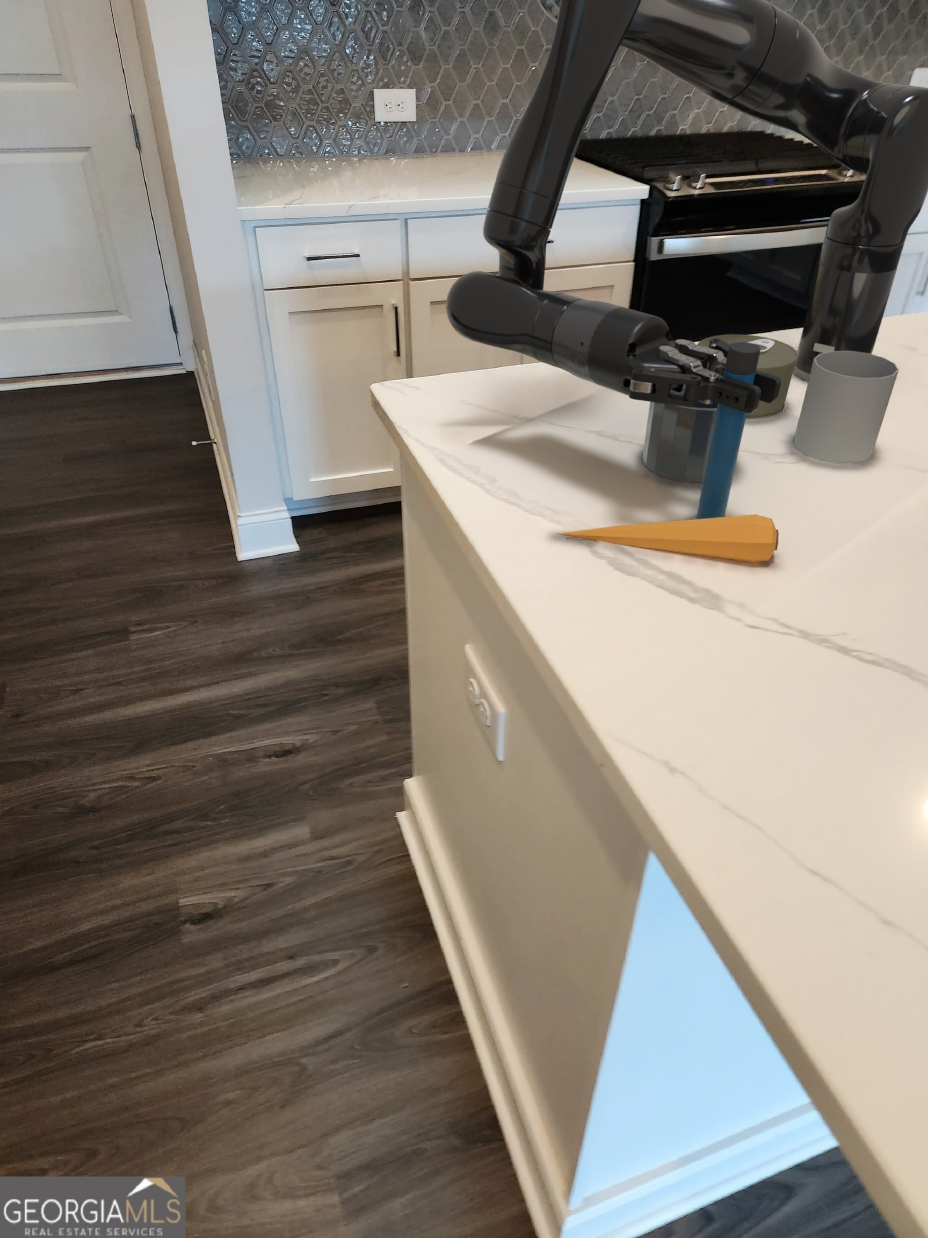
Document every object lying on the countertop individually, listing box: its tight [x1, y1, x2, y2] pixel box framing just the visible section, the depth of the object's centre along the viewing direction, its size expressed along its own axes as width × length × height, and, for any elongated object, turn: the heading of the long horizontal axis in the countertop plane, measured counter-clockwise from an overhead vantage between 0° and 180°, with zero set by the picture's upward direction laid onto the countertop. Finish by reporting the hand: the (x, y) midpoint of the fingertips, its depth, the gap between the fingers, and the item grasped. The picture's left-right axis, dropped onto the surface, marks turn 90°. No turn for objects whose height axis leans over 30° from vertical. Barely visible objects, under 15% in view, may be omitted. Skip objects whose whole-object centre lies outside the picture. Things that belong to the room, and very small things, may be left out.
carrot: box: [557, 514, 780, 563], centre depth 77 cm, size 20×4×4 cm, turn 77°
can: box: [696, 333, 798, 420], centre depth 103 cm, size 12×12×7 cm
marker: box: [695, 342, 761, 519], centre depth 76 cm, size 3×3×18 cm
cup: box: [793, 351, 900, 465], centre depth 91 cm, size 8×8×10 cm
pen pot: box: [642, 401, 718, 484], centre depth 88 cm, size 10×10×8 cm
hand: (766, 395), depth 71 cm, fingers closed on marker, 2 cm apart
